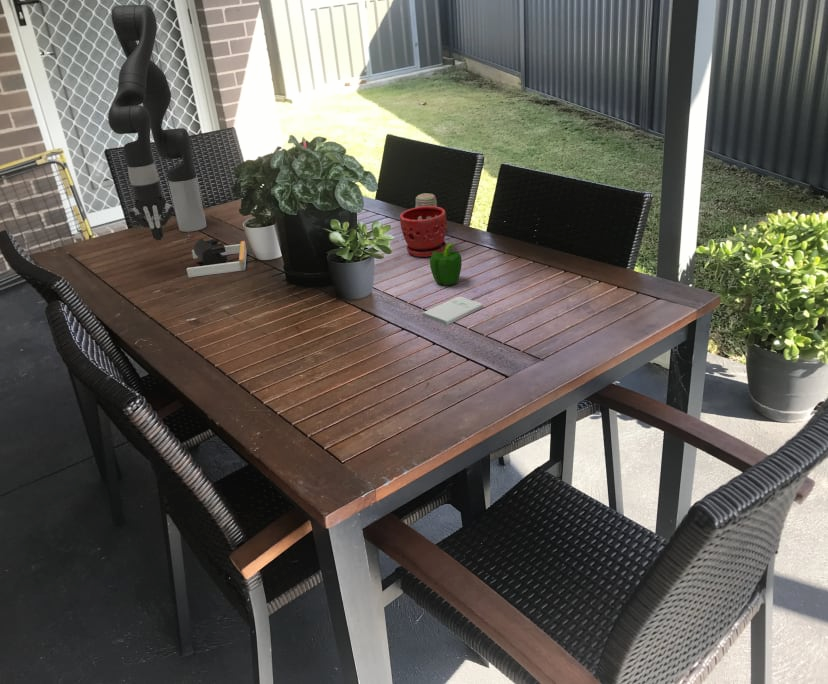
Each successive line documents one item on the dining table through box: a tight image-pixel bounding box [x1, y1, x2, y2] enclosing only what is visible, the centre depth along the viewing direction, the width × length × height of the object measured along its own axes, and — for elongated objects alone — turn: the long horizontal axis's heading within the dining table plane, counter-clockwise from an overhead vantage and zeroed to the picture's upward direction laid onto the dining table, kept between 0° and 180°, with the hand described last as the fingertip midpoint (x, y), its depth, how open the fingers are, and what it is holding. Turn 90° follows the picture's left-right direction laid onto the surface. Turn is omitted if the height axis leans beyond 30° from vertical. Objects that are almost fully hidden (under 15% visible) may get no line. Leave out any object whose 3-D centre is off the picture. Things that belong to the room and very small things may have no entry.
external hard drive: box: [421, 295, 484, 326], centre depth 173 cm, size 2×8×12 cm
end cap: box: [193, 238, 228, 266], centre depth 214 cm, size 10×7×7 cm
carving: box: [414, 192, 438, 220], centre depth 225 cm, size 6×8×12 cm
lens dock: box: [186, 240, 248, 278], centre depth 215 cm, size 17×16×3 cm
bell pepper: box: [429, 243, 463, 286], centre depth 187 cm, size 8×8×10 cm
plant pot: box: [399, 206, 447, 258], centre depth 209 cm, size 13×13×12 cm
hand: (159, 239), depth 210 cm, fingers closed
